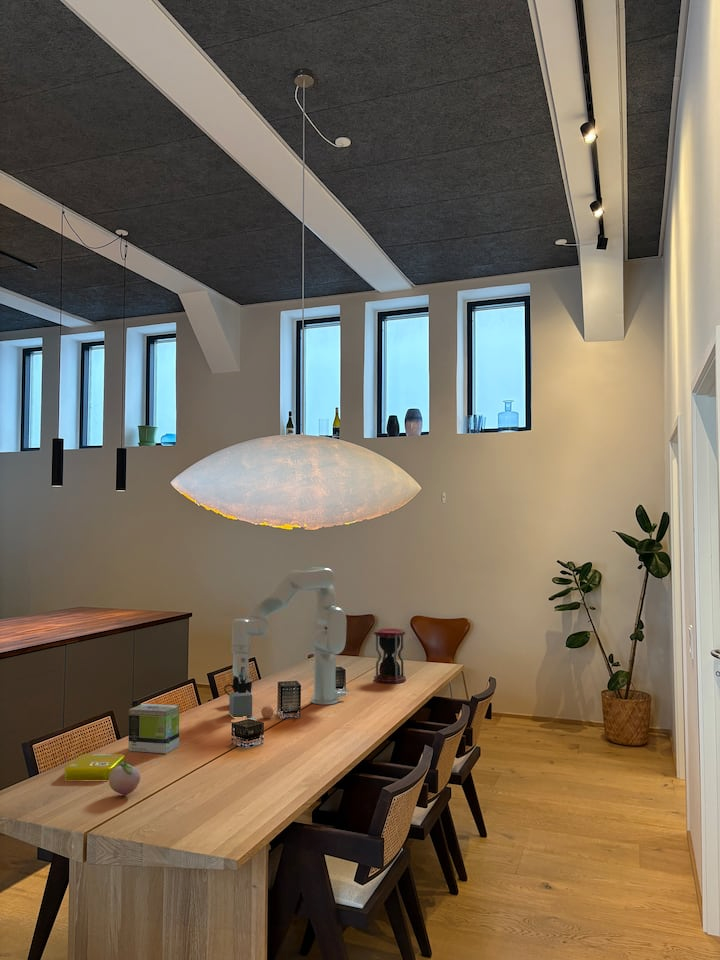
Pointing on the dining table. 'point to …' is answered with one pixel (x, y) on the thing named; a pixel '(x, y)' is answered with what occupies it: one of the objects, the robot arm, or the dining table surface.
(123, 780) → the decorative fruit
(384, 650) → the hourglass
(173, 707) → the tea box
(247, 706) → the grey block
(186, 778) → the dining table surface
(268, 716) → the ball
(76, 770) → the element tile
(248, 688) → the coffee mug
